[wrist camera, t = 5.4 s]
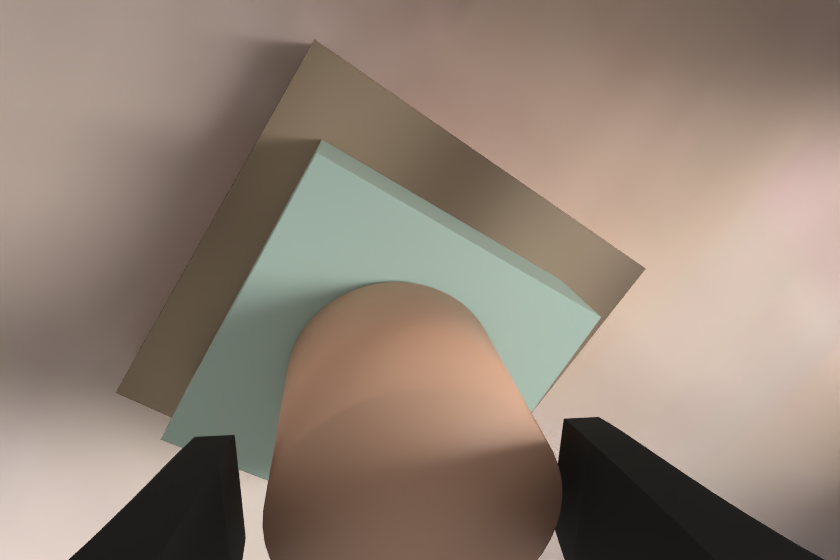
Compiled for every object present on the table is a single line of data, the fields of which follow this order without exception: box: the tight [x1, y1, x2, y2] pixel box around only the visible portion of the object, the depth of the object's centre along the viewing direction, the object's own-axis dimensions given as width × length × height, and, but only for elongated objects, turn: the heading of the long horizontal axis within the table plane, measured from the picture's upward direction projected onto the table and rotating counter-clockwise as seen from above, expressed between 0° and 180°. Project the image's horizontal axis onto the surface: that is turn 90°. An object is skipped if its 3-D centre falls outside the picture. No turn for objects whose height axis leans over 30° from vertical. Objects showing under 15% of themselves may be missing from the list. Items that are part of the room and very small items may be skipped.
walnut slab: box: [116, 40, 645, 417], centre depth 16 cm, size 10×10×2 cm
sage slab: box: [161, 140, 601, 480], centre depth 13 cm, size 7×7×2 cm
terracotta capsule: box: [263, 282, 562, 560], centre depth 10 cm, size 4×4×4 cm
